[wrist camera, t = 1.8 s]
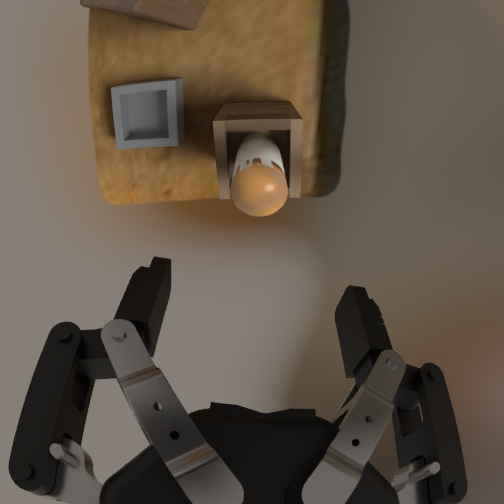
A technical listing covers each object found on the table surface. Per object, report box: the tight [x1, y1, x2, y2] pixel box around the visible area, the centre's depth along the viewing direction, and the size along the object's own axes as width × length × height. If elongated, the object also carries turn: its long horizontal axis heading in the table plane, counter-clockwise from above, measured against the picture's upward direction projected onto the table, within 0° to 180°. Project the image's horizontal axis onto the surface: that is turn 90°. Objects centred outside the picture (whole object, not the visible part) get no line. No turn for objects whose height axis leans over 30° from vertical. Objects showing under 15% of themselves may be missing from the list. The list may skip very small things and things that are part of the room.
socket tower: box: [213, 102, 303, 199], centre depth 30 cm, size 8×8×10 cm
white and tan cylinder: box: [230, 132, 288, 216], centre depth 25 cm, size 4×4×9 cm
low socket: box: [111, 78, 185, 149], centre depth 31 cm, size 8×8×4 cm
